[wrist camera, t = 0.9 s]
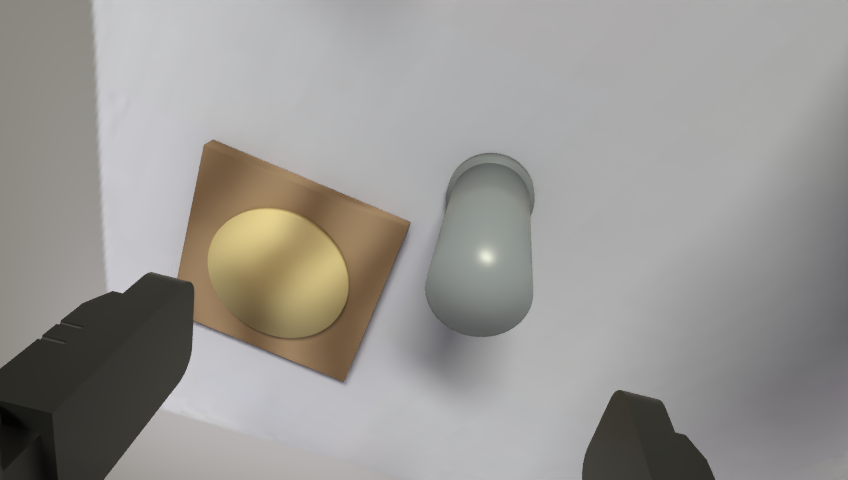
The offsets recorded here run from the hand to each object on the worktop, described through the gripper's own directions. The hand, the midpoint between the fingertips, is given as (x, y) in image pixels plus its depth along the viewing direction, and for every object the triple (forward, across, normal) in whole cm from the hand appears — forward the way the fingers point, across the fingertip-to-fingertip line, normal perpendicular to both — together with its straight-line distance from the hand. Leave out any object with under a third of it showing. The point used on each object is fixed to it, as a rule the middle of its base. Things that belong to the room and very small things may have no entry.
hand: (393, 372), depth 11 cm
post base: (+26, +9, +14) cm, 31 cm away
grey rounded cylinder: (+26, -3, +5) cm, 26 cm away
